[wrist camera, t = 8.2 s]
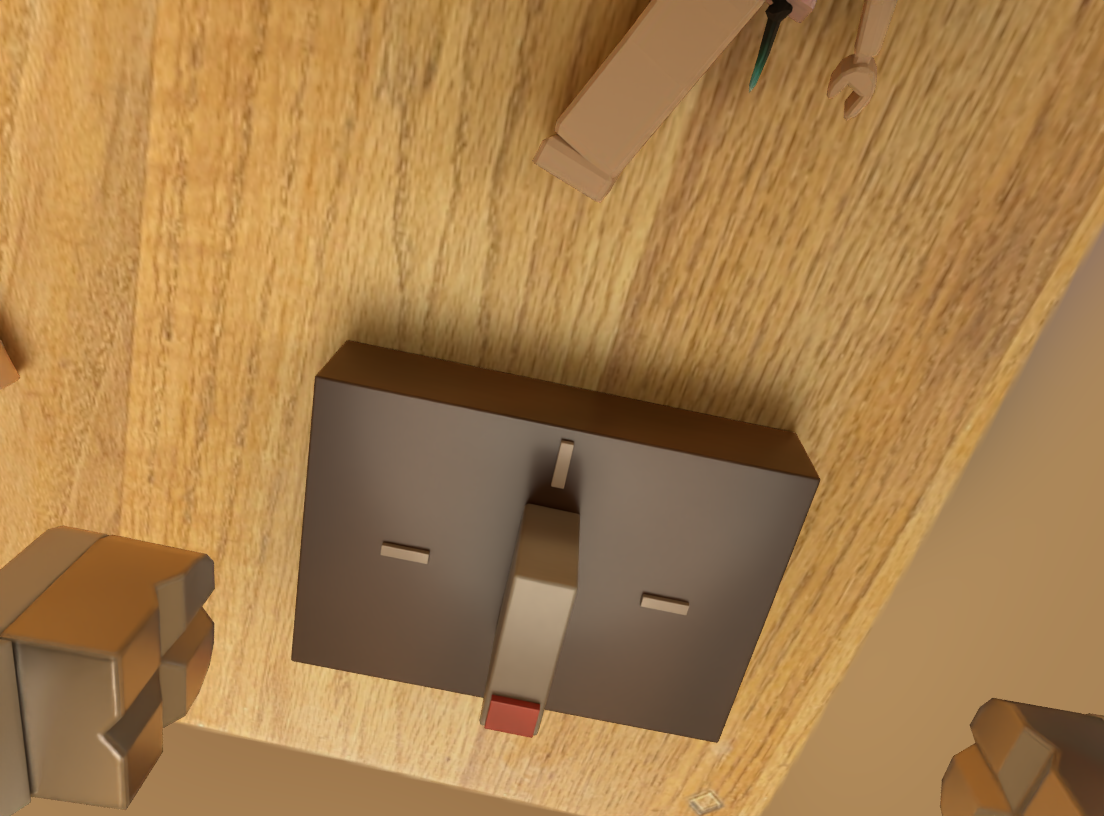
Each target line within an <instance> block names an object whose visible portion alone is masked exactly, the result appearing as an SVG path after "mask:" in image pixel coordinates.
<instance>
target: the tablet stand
mask: <svg viewBox="0 0 1104 816" xmlns="http://www.w3.org/2000/svg"><path fill="white" fill-rule="evenodd" d="M19 378H20V376H19V374H18V372H17V371H16V369H15V367H14V365H13V363H12V361H11V360H10V358H9V356H8V354H7V352H6V351H5V347H4V345H3V343H2V341H1V340H0V390H1V389H3V388H5V387H7V386H9V385H11V384H13V383H14V382H16V381H17V380H18V379H19Z"/></svg>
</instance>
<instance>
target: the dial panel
mask: <svg viewBox="0 0 1104 816" xmlns="http://www.w3.org/2000/svg"><path fill="white" fill-rule="evenodd" d="M819 482H820V478H819V476H818V474H817V472H816V470H815V468H814V466H813V464H812V462H811V461H810V459H809V457H808V455H807V453H806V451H805V449H804V447H803V445H802V444H801V442H800V440H799V438H798V436H797V434H796V433H794V432H789V431H785V430H780V429H775V428H770V427H765V426H760V425H756V424H751V423H746V422H741V421H736V420H731V419H727V418H722V417H717V416H712V415H707V414H702V413H698V412H693V411H688V410H683V409H678V408H673V407H668V406H664V405H659V404H654V403H649V402H644V401H639V400H635V399H630V398H625V397H620V396H615V395H610V394H606V393H601V392H596V391H591V390H586V389H581V388H577V387H572V386H567V385H562V384H557V383H552V382H547V381H543V380H538V379H533V378H528V377H523V376H518V375H514V374H509V373H504V372H499V371H494V370H489V369H485V368H480V367H475V366H470V365H465V364H460V363H456V362H451V361H446V360H441V359H436V358H431V357H426V356H422V355H417V354H412V353H407V352H402V351H397V350H393V349H388V348H383V347H378V346H373V345H368V344H364V343H359V342H354V341H349V340H347V341H346V342H345V343H344V344H343V345H342V346H341V348H340V349H339V350H338V351H337V352H336V353H335V354H334V356H333V357H332V358H331V359H330V360H329V361H328V362H327V363H326V365H325V366H324V367H323V368H322V369H321V370H320V371H319V373H318V374H317V375H316V376H315V384H314V395H313V407H312V419H311V431H310V443H309V455H308V466H307V478H306V490H305V502H304V514H303V526H302V537H301V549H300V561H299V573H298V585H297V597H296V608H295V620H294V632H293V644H292V656H291V660H292V661H295V662H300V663H305V664H311V665H316V666H321V667H326V668H331V669H337V670H342V671H347V672H352V673H357V674H363V675H368V676H373V677H378V678H383V679H389V680H394V681H399V682H404V683H409V684H415V685H420V686H425V687H430V688H435V689H441V690H446V691H451V692H456V693H461V694H467V695H472V696H477V697H482V698H484V693H485V687H486V681H487V676H488V670H489V664H490V659H491V653H492V647H493V642H494V637H495V632H496V628H497V624H498V619H499V615H500V611H501V606H502V602H503V598H504V594H505V589H506V585H507V581H508V576H509V572H510V568H511V563H512V559H513V555H514V550H515V546H516V542H517V538H518V533H519V529H520V525H521V520H522V516H523V512H524V507H525V505H526V504H534V505H538V506H543V507H548V508H553V509H557V510H562V511H567V512H571V513H576V514H579V515H580V541H579V569H578V590H577V594H576V598H575V601H574V605H573V608H572V612H571V616H570V619H569V623H568V626H567V630H566V634H565V637H564V641H563V644H562V648H561V651H560V655H559V659H558V662H557V666H556V669H555V673H554V677H553V680H552V684H551V687H550V691H549V695H548V698H547V702H546V705H545V710H550V711H555V712H560V713H565V714H571V715H576V716H581V717H586V718H591V719H596V720H602V721H607V722H612V723H617V724H622V725H628V726H633V727H638V728H643V729H648V730H654V731H659V732H664V733H669V734H674V735H680V736H685V737H690V738H695V739H700V740H706V741H711V742H716V743H717V742H718V741H719V739H720V736H721V734H722V731H723V728H724V726H725V723H726V721H727V718H728V716H729V713H730V711H731V708H732V705H733V703H734V700H735V698H736V695H737V693H738V690H739V687H740V685H741V682H742V680H743V677H744V675H745V672H746V670H747V667H748V664H749V662H750V659H751V657H752V654H753V652H754V649H755V646H756V644H757V641H758V639H759V636H760V634H761V631H762V629H763V626H764V623H765V621H766V618H767V616H768V613H769V611H770V608H771V605H772V603H773V600H774V598H775V595H776V593H777V590H778V588H779V585H780V582H781V580H782V577H783V575H784V572H785V570H786V567H787V564H788V562H789V559H790V557H791V554H792V552H793V549H794V546H795V544H796V541H797V539H798V536H799V534H800V531H801V529H802V526H803V523H804V521H805V518H806V516H807V513H808V511H809V508H810V505H811V503H812V500H813V498H814V495H815V493H816V490H817V488H818V485H819Z"/></svg>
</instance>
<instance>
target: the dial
mask: <svg viewBox="0 0 1104 816" xmlns="http://www.w3.org/2000/svg"><path fill="white" fill-rule="evenodd" d="M579 541H580V515H579V514H576V513H571V512H567V511H562V510H557V509H553V508H548V507H543V506H538V505H534V504H526V505H525V507H524V512H523V516H522V520H521V525H520V529H519V533H518V538H517V542H516V546H515V550H514V555H513V559H512V563H511V568H510V572H509V576H508V581H507V585H506V589H505V594H504V598H503V602H502V606H501V611H500V615H499V619H498V624H497V628H496V632H495V637H494V642H493V647H492V653H491V659H490V664H489V670H488V676H487V681H486V687H485V693H484V698H483V704H482V710H481V715H480V724H481V725H484V726H485V728H486V729H491V730H496V731H501V732H506V733H511V734H516V735H521V736H526V737H531V738H532V737H533V735H536V734H537V733H538V731H539V727H540V723H541V720H542V716H543V713H544V709H545V705H546V702H547V698H548V695H549V691H550V687H551V684H552V680H553V677H554V673H555V669H556V666H557V662H558V659H559V655H560V651H561V648H562V644H563V641H564V637H565V634H566V630H567V626H568V623H569V619H570V616H571V612H572V608H573V605H574V601H575V598H576V594H577V590H578V569H579Z"/></svg>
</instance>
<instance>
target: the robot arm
mask: <svg viewBox="0 0 1104 816" xmlns="http://www.w3.org/2000/svg"><path fill="white" fill-rule="evenodd" d="M214 589H215V583H214V561H213V560H212V559H211V558H210V557H209V556H208V555H207V554H204V553H199V552H194V551H189V550H184V549H179V548H174V547H170V546H165V545H160V544H155V543H150V542H145V541H140V540H136V539H131V538H126V537H121V536H116V535H110V536H109V535H107V534H104V533H98V532H93V531H88V530H83V529H78V528H73V527H68V526H59V527H55V528H51V529H48V530H46V531H45V532H44V533H43V534H41V535H40V536H39V537H38V538H37V539H36V540H34V541H33V542H32V543H31V544H30V545H29V546H27V547H26V548H25V549H24V550H23V551H22V552H20V553H19V554H18V555H17V556H16V557H14V558H13V559H12V560H11V561H10V562H9V563H7V564H6V565H5V566H4V567H3V568H2V569H0V816H11V815H13V814H14V813H16V812H17V811H18V810H20V809H22V808H23V807H24V806H26V805H28V804H29V803H30V802H31V797H37V798H44V799H51V800H58V801H65V802H72V803H79V804H86V805H93V806H100V807H107V808H114V809H121V810H126V809H127V808H128V806H129V805H130V803H131V801H132V800H133V798H134V797H135V795H136V794H137V792H138V790H139V789H140V787H141V786H142V784H143V782H144V781H145V779H146V778H147V776H148V775H149V773H150V771H151V770H152V768H153V767H154V765H155V764H156V762H157V760H158V759H159V757H160V756H161V754H162V752H163V728H164V727H166V726H168V725H170V724H171V723H173V722H175V721H177V720H179V719H180V718H182V717H184V716H186V714H187V712H188V711H189V709H190V707H191V706H192V704H193V702H194V701H195V699H196V697H197V696H198V694H199V692H200V689H201V686H202V684H203V681H204V679H205V676H206V673H207V671H208V668H209V665H210V661H211V655H212V650H213V644H214V622H213V621H212V619H211V618H210V617H209V615H208V614H207V613H206V611H205V610H204V608H203V607H202V606H203V604H204V603H205V601H206V600H207V599H208V597H209V596H210V594H211V593H212V591H213V590H214ZM970 727H971V731H972V733H973V736H974V740H975V744H973V745H971V746H970V747H968V748H966V749H965V750H963V751H961V752H959V753H958V754H956V755H954V756H953V758H952V759H951V762H950V764H949V766H948V768H947V770H946V772H945V775H944V777H943V779H942V787H941V802H940V808H941V813H942V816H1104V716H1102V715H1096V714H1090V713H1089V714H1081V713H1076V712H1070V711H1064V710H1059V709H1053V708H1048V707H1042V706H1036V705H1030V704H1025V703H1019V702H1013V701H1007V700H1002V699H997V698H992V699H990V700H989V701H988V702H986V703H985V704H984V705H982V706H981V707H980V708H979V709H978V711H977V713H976V715H975V717H974V719H973V720H972V722H971V724H970Z"/></svg>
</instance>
